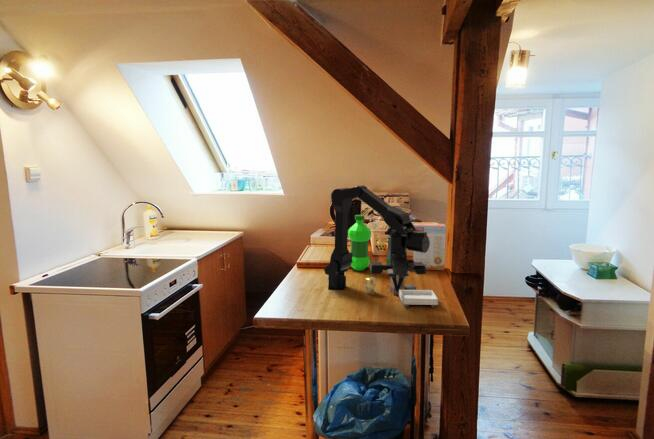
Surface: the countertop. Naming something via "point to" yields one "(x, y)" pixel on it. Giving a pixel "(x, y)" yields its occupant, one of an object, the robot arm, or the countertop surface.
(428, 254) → the cracker box
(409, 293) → the white shallow tray
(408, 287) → the grey small block
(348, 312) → the countertop surface
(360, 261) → the plastic bottle
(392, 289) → the walnut block
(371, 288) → the small wooden cylinder
